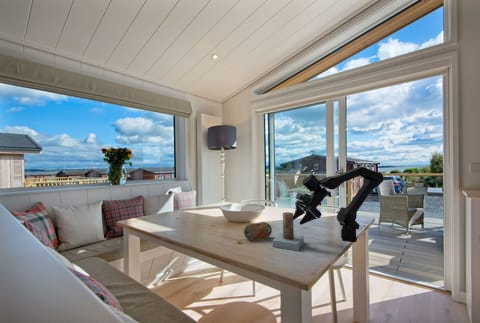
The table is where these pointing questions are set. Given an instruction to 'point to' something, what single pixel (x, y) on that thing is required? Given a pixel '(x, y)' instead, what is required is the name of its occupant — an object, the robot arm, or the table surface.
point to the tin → (257, 231)
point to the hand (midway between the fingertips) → (296, 221)
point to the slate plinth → (288, 242)
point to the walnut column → (288, 226)
